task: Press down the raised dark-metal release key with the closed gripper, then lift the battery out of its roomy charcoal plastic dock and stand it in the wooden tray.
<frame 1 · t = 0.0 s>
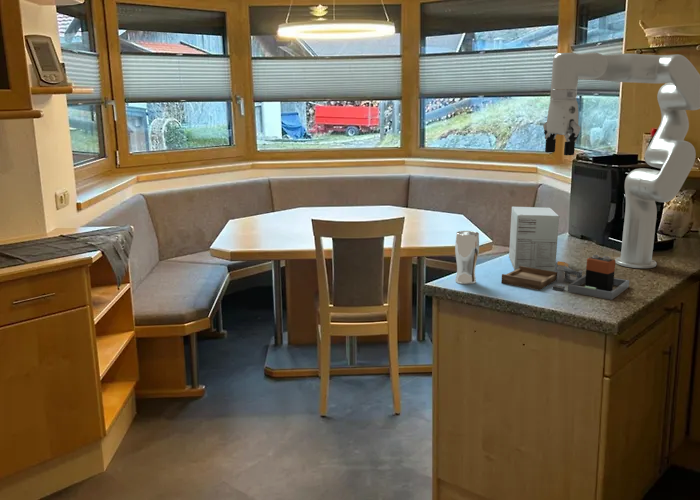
hand: (559, 153, 205), 37 cm above the worktop, tool pointing down, fingers open, 9 cm apart
supplement box: (531, 265, 222), on the worktop
key mount: (572, 280, 203), on the worktop
wooden tray: (529, 281, 202), on the worktop
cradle: (598, 289, 195), on the worktop
battery: (598, 290, 195), resting in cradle
beer glass: (465, 282, 202), on the worktop
release key: (567, 268, 198), point 5 cm above the worktop, hinge at -20.0°
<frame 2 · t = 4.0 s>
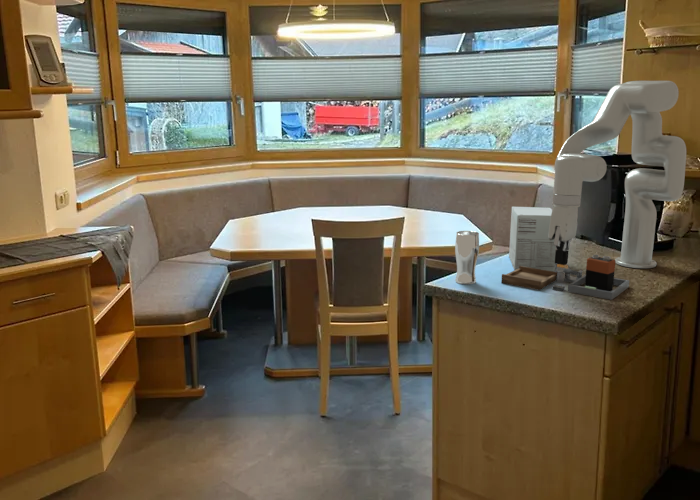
hand: (560, 263, 193), 8 cm above the worktop, tool pointing down, fingers closed
release key: (567, 269, 198), point 5 cm above the worktop, hinge at -17.1°, touching gripper
everything else where it was.
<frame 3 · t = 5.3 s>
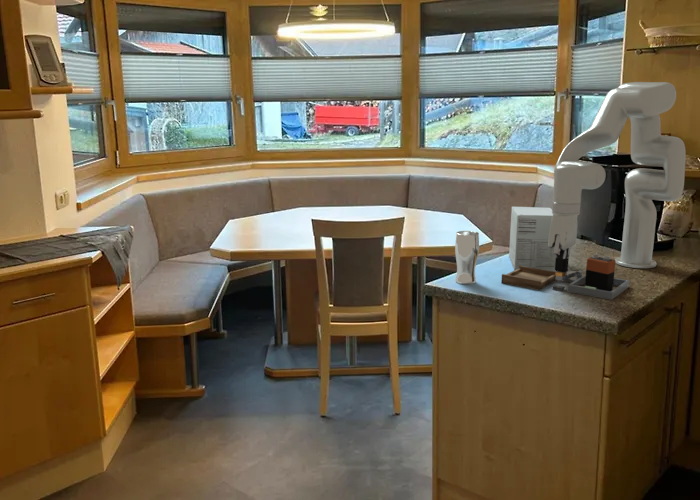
hand: (561, 271, 194), 5 cm above the worktop, tool pointing down, fingers closed
release key: (566, 273, 198), point 4 cm above the worktop, hinge at -5.3°
everything else where it was.
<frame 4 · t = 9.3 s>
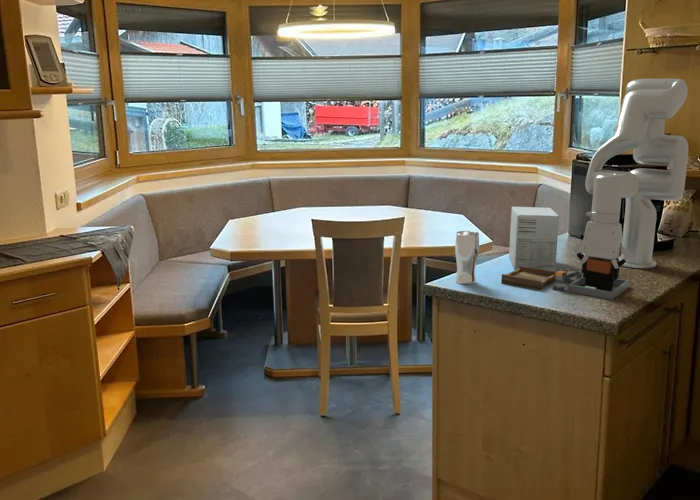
hand: (599, 278, 194), 3 cm above the worktop, tool pointing down, fingers closed on battery, 7 cm apart
battery: (598, 290, 195), resting in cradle, touching gripper
everything else where it was.
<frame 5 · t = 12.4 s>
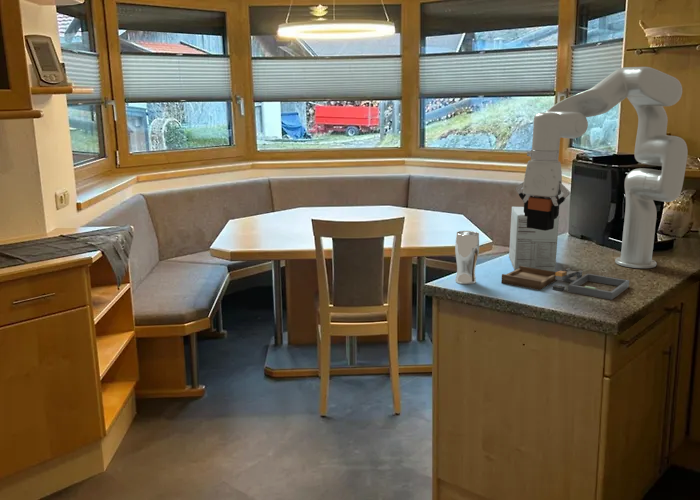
hand: (540, 216, 197), 20 cm above the worktop, tool pointing down, fingers closed on battery, 7 cm apart
battery: (539, 229, 198), point 16 cm above the worktop, touching gripper
everything else where it was.
when the fingers open (6 cm above the worktop, at t = 15.9 s): battery stays where it is, resting on wooden tray.
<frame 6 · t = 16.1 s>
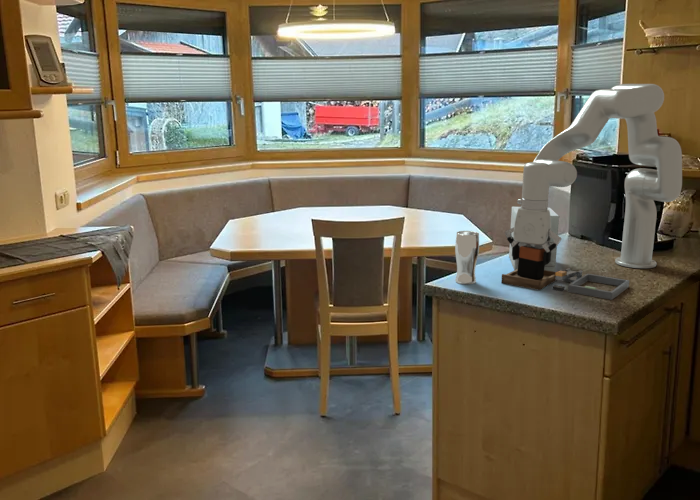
hand: (530, 261, 201), 6 cm above the worktop, tool pointing down, fingers open, 9 cm apart
battery: (529, 277, 202), point 1 cm above the worktop, touching wooden tray
everything else where it was.
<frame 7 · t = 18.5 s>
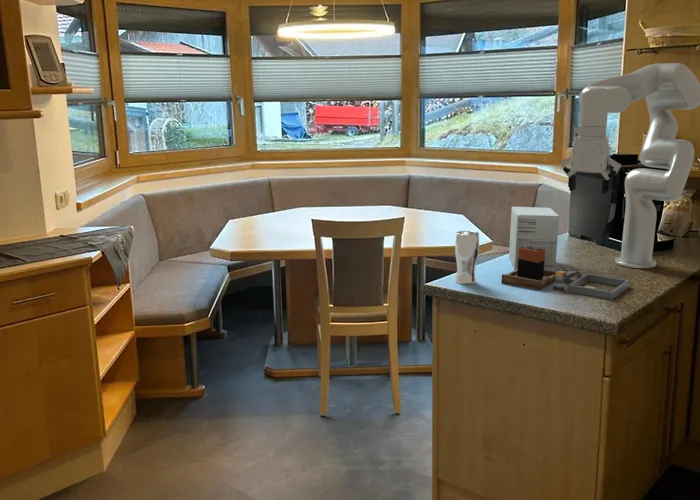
hand: (588, 191, 196), 27 cm above the worktop, tool pointing down, fingers open, 9 cm apart
nothing on the worktop moved.
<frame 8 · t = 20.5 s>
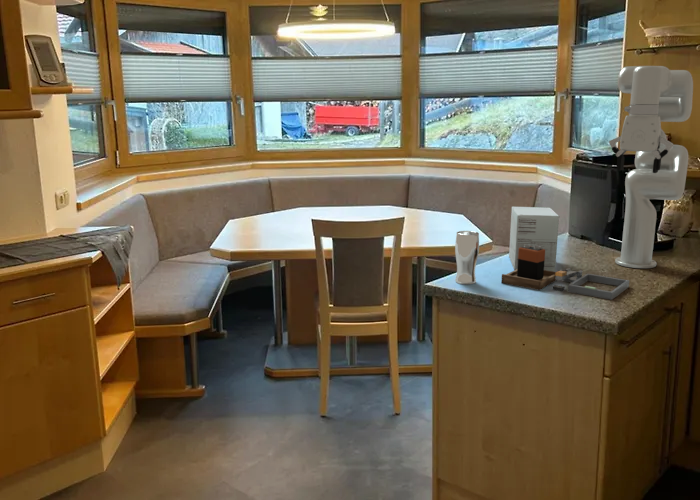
hand: (637, 171, 195), 33 cm above the worktop, tool pointing down, fingers open, 9 cm apart
nothing on the worktop moved.
at the end: release key at -5° (first picture: -20°); battery 0.2 cm from the wooden tray (horizontally); battery tilted 0° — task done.
